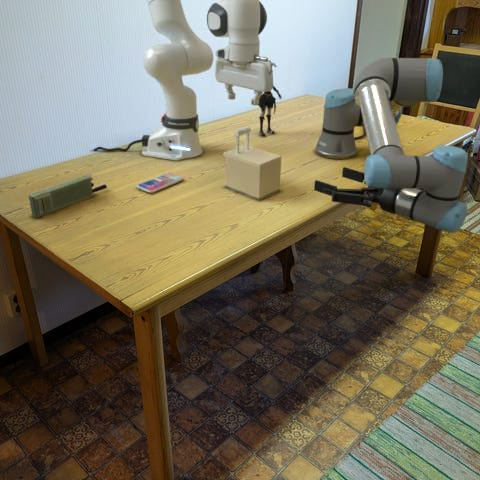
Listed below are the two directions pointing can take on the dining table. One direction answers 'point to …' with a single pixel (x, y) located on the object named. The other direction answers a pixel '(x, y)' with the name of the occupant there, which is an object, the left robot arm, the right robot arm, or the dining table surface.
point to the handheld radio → (62, 195)
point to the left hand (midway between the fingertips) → (243, 102)
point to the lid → (250, 152)
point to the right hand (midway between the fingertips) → (329, 178)
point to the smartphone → (159, 182)
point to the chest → (252, 178)
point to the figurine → (267, 102)
